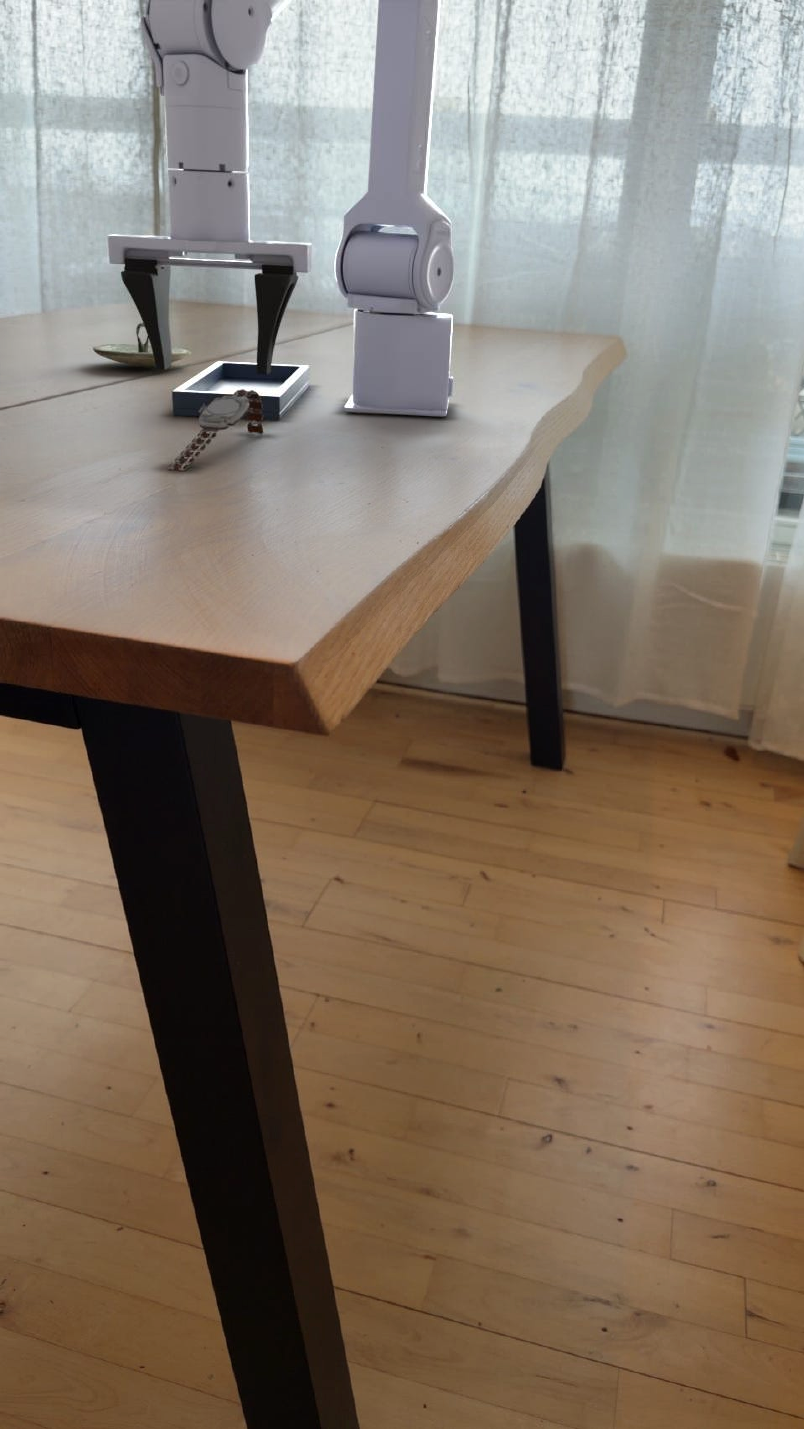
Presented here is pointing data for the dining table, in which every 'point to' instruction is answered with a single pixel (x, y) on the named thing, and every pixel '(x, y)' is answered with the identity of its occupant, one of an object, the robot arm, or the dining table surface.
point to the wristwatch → (222, 422)
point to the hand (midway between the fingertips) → (213, 370)
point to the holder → (243, 387)
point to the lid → (136, 352)
